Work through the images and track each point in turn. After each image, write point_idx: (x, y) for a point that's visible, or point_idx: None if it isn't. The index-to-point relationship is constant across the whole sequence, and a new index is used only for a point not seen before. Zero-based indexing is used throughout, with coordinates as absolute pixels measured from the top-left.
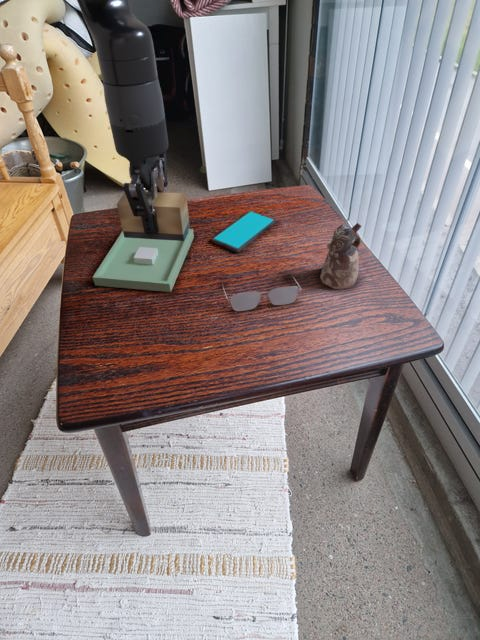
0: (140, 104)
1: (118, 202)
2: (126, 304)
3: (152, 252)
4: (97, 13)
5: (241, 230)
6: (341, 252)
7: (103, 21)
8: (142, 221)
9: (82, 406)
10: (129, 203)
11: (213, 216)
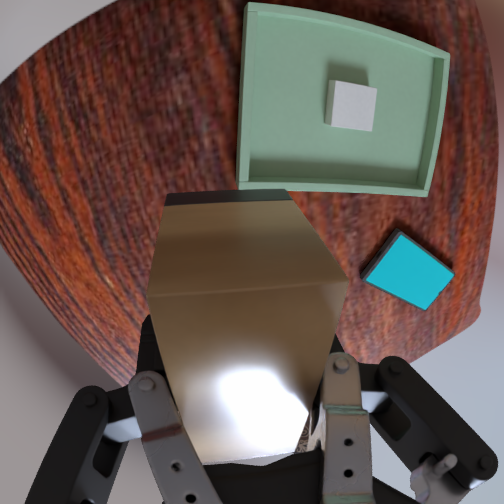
0: None
1: (171, 301)
2: (183, 98)
3: (356, 123)
4: None
5: (412, 273)
6: None
7: None
8: (156, 340)
9: None
10: (45, 457)
11: (462, 213)
